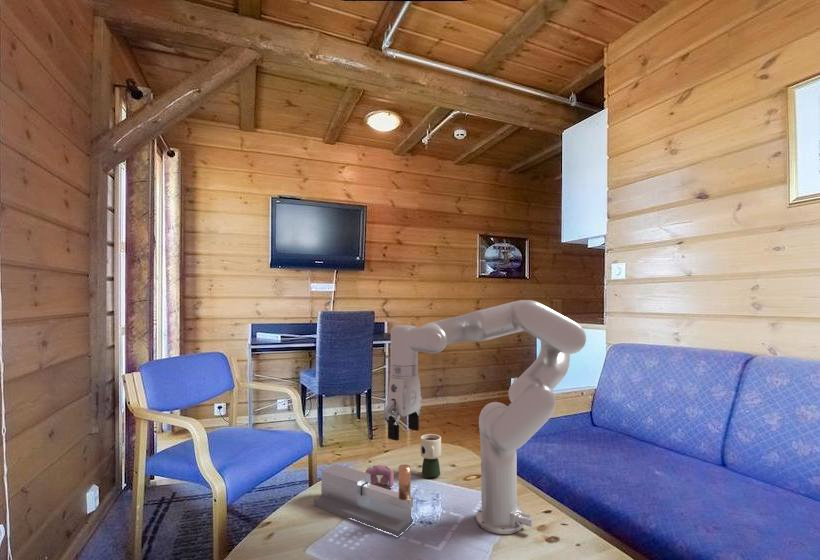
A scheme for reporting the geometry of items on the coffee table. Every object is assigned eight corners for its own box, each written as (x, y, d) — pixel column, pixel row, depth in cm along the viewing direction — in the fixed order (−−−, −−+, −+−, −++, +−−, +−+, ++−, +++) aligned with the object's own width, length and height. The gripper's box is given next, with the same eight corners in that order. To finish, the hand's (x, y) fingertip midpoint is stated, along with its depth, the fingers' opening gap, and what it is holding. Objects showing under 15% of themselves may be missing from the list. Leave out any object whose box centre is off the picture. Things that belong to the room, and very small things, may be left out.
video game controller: (394, 489, 132) (395, 466, 135) (392, 489, 128) (393, 464, 131) (364, 488, 133) (366, 465, 136) (361, 487, 129) (363, 463, 132)
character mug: (419, 469, 144) (418, 432, 145) (438, 468, 144) (438, 431, 145) (422, 483, 133) (422, 443, 134) (443, 482, 134) (443, 442, 134)
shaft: (414, 505, 109) (413, 466, 110) (407, 510, 106) (407, 470, 107) (355, 486, 120) (355, 451, 121) (348, 491, 118) (348, 454, 118)
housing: (370, 499, 119) (370, 474, 119) (357, 508, 114) (357, 482, 114) (335, 488, 126) (335, 463, 127) (321, 495, 121) (321, 470, 122)
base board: (422, 516, 113) (422, 510, 113) (398, 538, 103) (398, 531, 103) (341, 489, 129) (341, 484, 129) (313, 505, 119) (313, 500, 119)
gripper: (397, 377, 101) (397, 446, 101) (431, 367, 116) (431, 428, 115) (373, 374, 105) (373, 441, 105) (409, 365, 120) (409, 423, 119)
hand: (403, 434), depth 110 cm, fingers open, 9 cm apart
